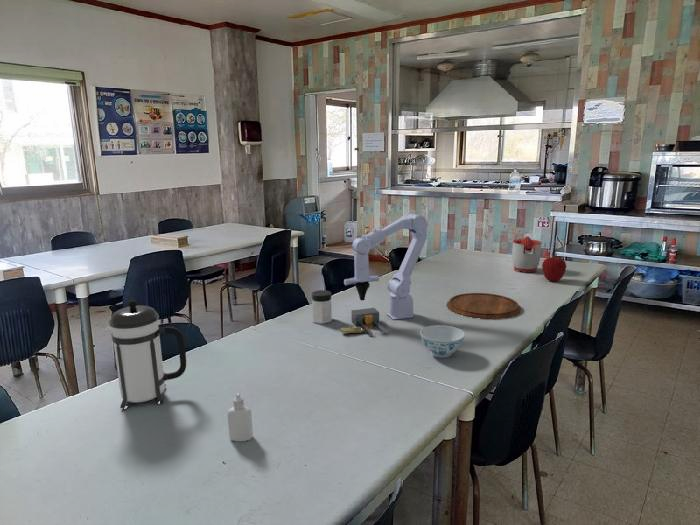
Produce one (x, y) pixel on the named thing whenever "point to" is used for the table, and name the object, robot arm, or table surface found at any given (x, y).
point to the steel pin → (368, 320)
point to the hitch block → (358, 319)
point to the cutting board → (483, 306)
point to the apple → (553, 268)
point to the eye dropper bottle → (240, 421)
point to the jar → (321, 306)
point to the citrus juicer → (526, 254)
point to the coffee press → (141, 353)
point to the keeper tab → (352, 330)
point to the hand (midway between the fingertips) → (362, 299)
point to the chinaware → (442, 339)
